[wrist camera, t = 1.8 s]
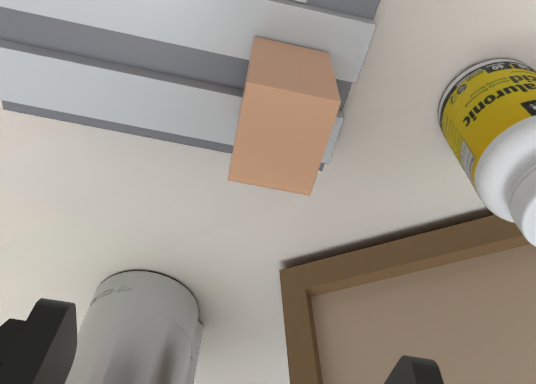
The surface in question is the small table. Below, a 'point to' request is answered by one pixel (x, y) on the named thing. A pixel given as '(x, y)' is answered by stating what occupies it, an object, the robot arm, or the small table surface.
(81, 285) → the small table surface
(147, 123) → the board
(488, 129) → the supplement bottle
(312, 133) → the fader knob
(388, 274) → the photo frame
